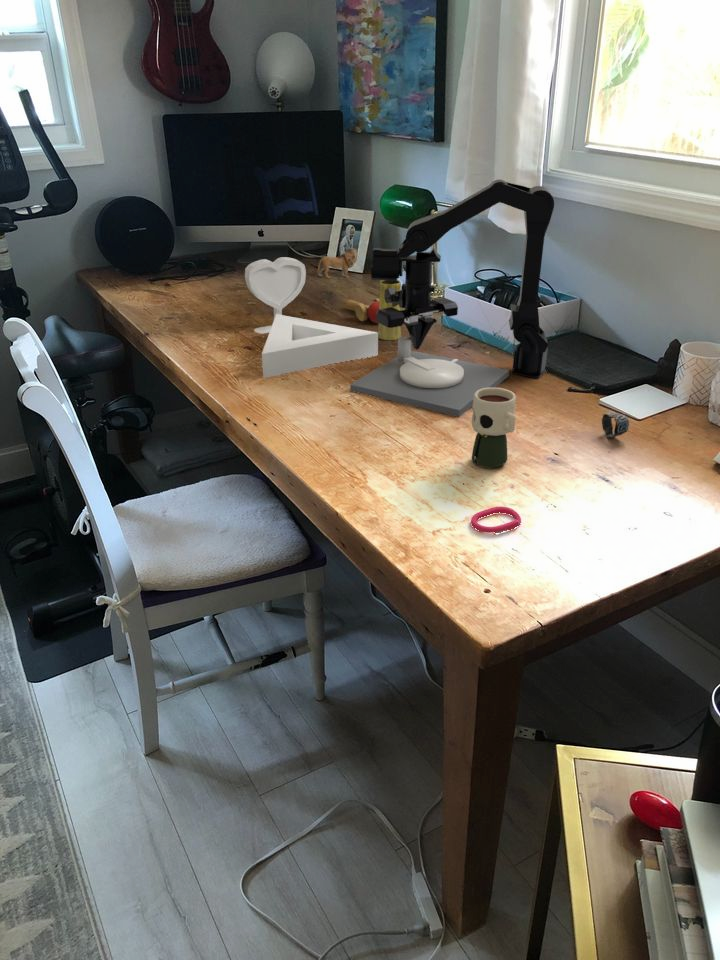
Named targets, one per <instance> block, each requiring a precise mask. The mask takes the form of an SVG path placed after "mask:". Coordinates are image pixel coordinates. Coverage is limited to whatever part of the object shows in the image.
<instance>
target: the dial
mask: <svg viewBox="0 0 720 960" xmlns="http://www.w3.org/2000/svg"><path fill="white" fill-rule="evenodd" d="M411 351H412V340H411V338H410V336H409V337H408V336H401V337H400V338H398V339H397V356H398V361H400V362H404V363H405V364H403V365H402V366H401V367H400V378H401V380H402V381H404V382H405V383H407V384H409V385H412V386H416V387H421V388H446V387H451V386H454V385H457V384H459V383H460V382H462V380H463V378H464V369H463V368H462V367H461V366H460V365H458V364H456V363H454V362H450V361H446V360H440V359H419V360H418V359H416V358H414V357H411Z"/></svg>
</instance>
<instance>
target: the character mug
mask: <svg viewBox="0 0 720 960" xmlns="http://www.w3.org/2000/svg"><path fill="white" fill-rule="evenodd" d="M516 401H517V397H516V394H515V393H514V392H513V391H511V390H508V389H506V388H502V387H495V388H490V387H489V388H482V389H480V390H477V391H476V392H475V393H474V398H473V406H472V416H471V426H472V428H473V431H475V432H476V435H475V440H474V443H473V447H472V453H471V457H470V458H471V460H472V463H475V459H477V462H476V464H477V466H479V467H483V468H489V469H491V468H492V469H494V468H497V467H500V466H502V465H504V464H506V463H507V462H508V438H507V435H506V434H511V433H513V432H514V431H515V427H516V415H515V414H516V413H515V412H516V411H515V410H516V404H517V403H516Z"/></svg>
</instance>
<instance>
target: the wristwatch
mask: <svg viewBox="0 0 720 960" xmlns="http://www.w3.org/2000/svg"><path fill="white" fill-rule="evenodd" d="M612 419H614V421H615V426H613V421H612ZM601 425H602V430H603V431H604V436H605V437H606V438H615V437H619V436H621V435H623V434H625V433H627V432H628V430H629V426H630V421H629V419H628V417H626V415H625V414H623V413H620V414H619V413H617V412H615V411H612V412H611V411H610V412H606V413H604V414H603V415H602V418H601ZM613 427H614V428H613Z"/></svg>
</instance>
